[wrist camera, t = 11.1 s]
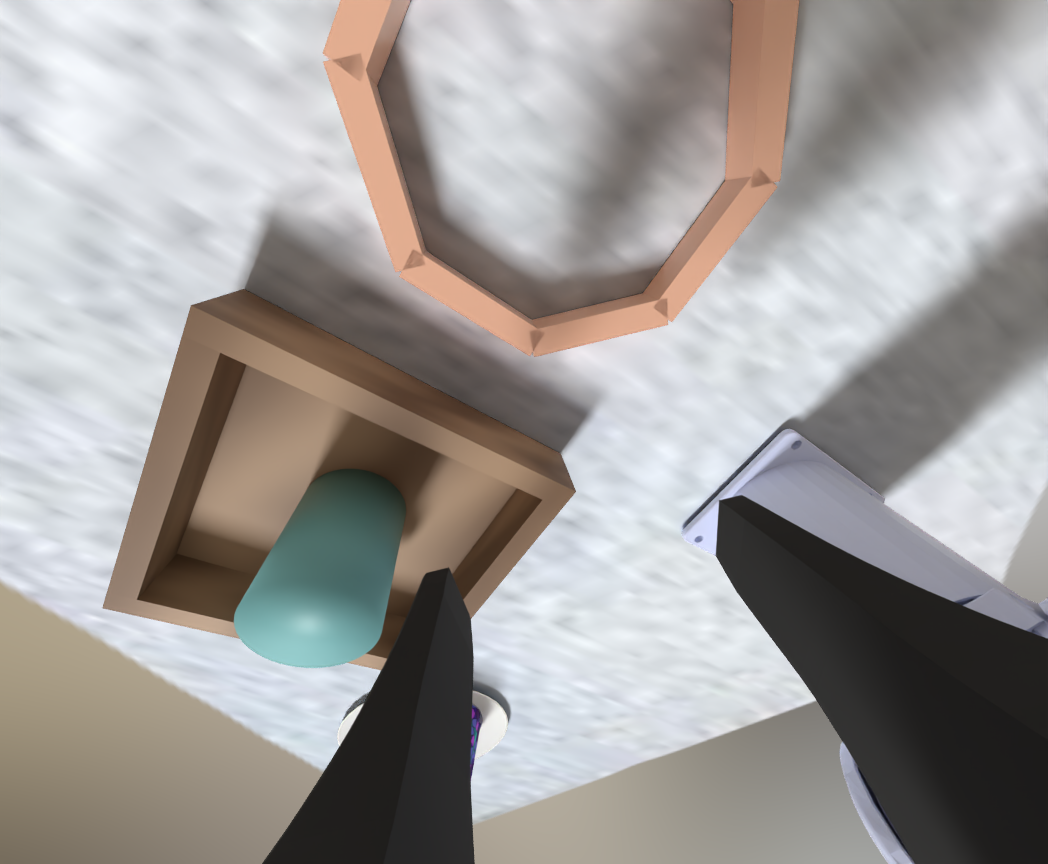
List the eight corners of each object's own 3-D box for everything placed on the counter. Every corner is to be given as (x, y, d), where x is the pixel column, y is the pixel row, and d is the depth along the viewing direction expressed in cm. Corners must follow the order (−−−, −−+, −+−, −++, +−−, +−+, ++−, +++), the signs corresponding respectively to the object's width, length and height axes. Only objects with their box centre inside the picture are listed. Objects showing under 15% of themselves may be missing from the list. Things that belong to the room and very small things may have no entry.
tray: (560, 453, 19) (576, 491, 16) (426, 627, 23) (421, 678, 21) (243, 288, 14) (190, 305, 11) (154, 552, 18) (102, 608, 16)
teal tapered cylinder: (385, 458, 17) (349, 563, 12) (429, 555, 20) (417, 673, 15) (284, 482, 17) (202, 600, 12) (344, 576, 20) (301, 703, 15)
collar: (836, 75, 13) (877, 59, 12) (597, 389, 17) (607, 403, 16) (504, -391, 8) (511, -506, 7) (293, 201, 13) (272, 199, 11)
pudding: (401, 653, 25) (386, 751, 20) (539, 701, 30) (552, 789, 25) (308, 743, 28) (278, 844, 24) (445, 773, 33) (442, 861, 28)
